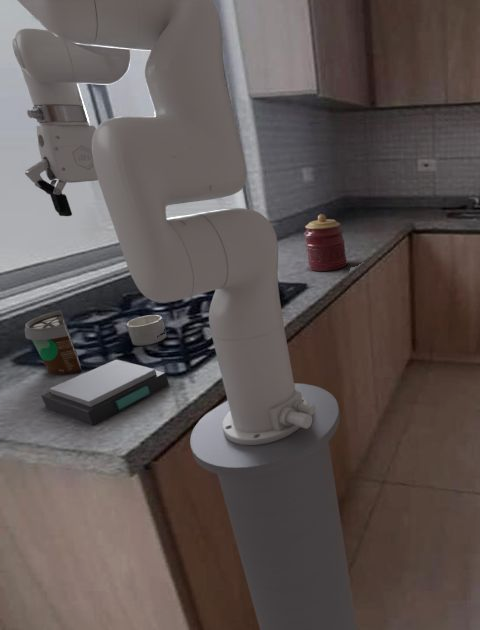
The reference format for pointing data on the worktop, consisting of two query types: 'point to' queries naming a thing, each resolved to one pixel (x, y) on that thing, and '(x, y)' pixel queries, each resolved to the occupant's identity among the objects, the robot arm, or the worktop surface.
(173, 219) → the robot arm
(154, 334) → the bowl
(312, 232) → the kitchen canister
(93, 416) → the scale
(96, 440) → the worktop surface
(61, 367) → the food container
